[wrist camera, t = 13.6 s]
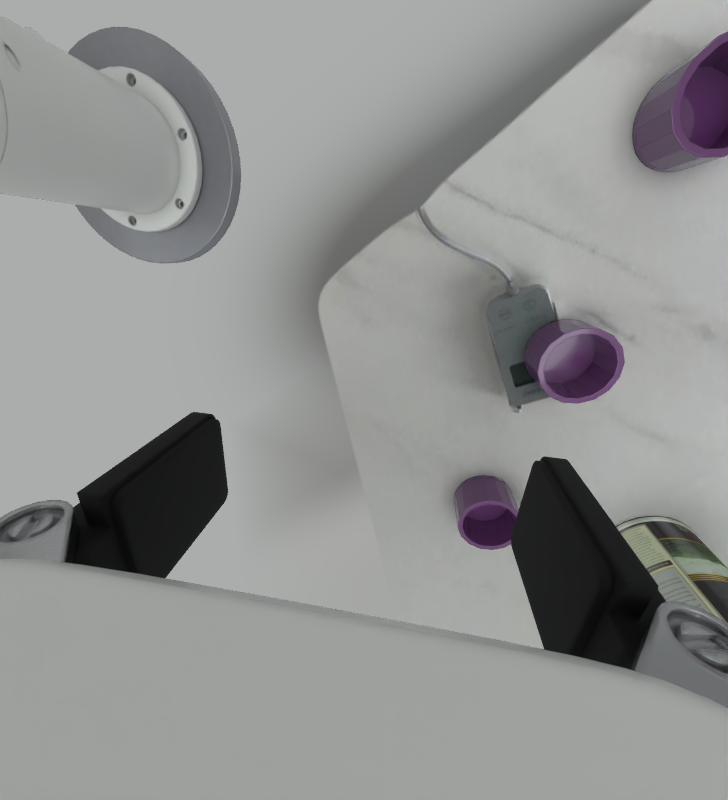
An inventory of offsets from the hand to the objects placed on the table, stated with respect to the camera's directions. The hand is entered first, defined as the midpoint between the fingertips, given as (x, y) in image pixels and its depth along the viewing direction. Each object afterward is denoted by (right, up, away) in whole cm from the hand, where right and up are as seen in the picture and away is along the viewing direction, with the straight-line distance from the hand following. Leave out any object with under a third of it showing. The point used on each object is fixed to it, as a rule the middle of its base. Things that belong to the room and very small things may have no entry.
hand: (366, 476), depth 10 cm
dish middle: (+19, +7, +23) cm, 30 cm away
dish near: (+24, +23, +15) cm, 36 cm away
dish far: (+14, -9, +31) cm, 35 cm away
